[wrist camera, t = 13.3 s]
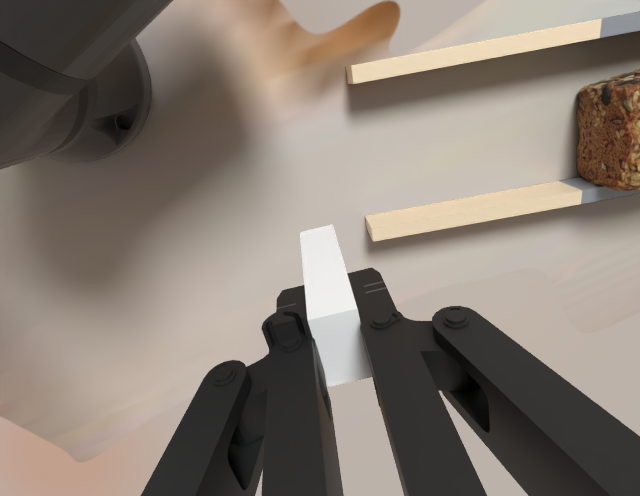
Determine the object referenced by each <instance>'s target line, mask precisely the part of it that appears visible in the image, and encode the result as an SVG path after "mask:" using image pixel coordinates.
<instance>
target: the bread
mask: <svg viewBox="0 0 640 496" xmlns="http://www.w3.org/2000/svg"><path fill="white" fill-rule="evenodd" d="M578 101H579V103H580V105H579V107H578V110H577V122H578V125H579V127H580V128H579V134H580V140H579V144H578V147H577V159H578V160H577V169H578V171H577V172H578V173H579V174H580V175H581V176H582V177H584V178H585V179H586V180H587V181H589V182H591V183H593V184H600V185H603V186H604V187H605V188H608V189H611V190H615V191H631V190H640V69H639V70H635V71H634V72H631V73H624V74H621V75H618V76H615V77H612V78H610V79H605V80H603V81H600V82H598V83H594V84H590V85H588V86H584V87H583V88H582V89H581V90H580V92H579V95H578Z"/></svg>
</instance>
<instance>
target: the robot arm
mask: <svg viewBox="0 0 640 496" xmlns="http://www.w3.org/2000/svg"><path fill="white" fill-rule="evenodd" d="M172 1H173V0H0V169H3V168H6V167H9V166H12V165H15V164H18V163H21V162H25V161H28V160H31V159H34V158H37V157H42V158H47V159H52V160H56V161H63V162H87V161H93V160H97V159H100V158H103V157H106V156H108V155H110V154H113V153H115V152H117V151H119V150H121V149H122V148H124V147H125V146H127V145H128V144H129V143H130V142H131V141H132V140H133V139H134V138H135V137H136V136H137V135H138V133H139V132H140V130H141V129H142V127H143V125H144V123H145V120H146V118H147V115H148V112H149V107H150V100H151V84H150V76H149V71H148V67H147V64H146V61H145V58H144V55H143V53H142V51H141V49H140V47H139V45H138V43H137V41H136V39H135V37H136V36H137V35H138V34H139V33H140V32H141V31H142V30H143V29H144V28H145V27H146V26H147V25H148V24H150V23H151V22H152V21H153V20H154V19H155V18H156V17H157V16H158V15H159V14H160V13H161V12H162V11H163V10H164V9H165V8H166V7H167V6H168V5H169V4H170V3H171V2H172ZM300 239H301V251H302V263H303V274H304V285H303V286H298V287H294V288H290V289H286V290H282V292H281V293H280V295H279V297H278V298H277V311H276V313H274V314H272V315H271V316H269V317H268V318H267V319H266V320H265V321H264V322H263V325H262V331H263V334H264V336H265V339H266V342H267V344H268V347H269V354H268V355H266V356H265V357H264V358H263V359H261V360H259V361H258V362H256V363H254V364H252V365H250V366H247V367H246V366H245V364H244V363H242V362H241V361H236V360H231V361H226V362H223V363H221V364H219V365H217V366H215V367H214V368H213V369H212V370H210V371H209V372H208V374H207V375H206V376H205V378H204V379H203V381H202V383H201V385H200V387H199V388H198V390H197V392H196V394H195V396H194V398H193V400H192V402H191V403H190V405H189V407H188V409H187V411H186V413H185V414H184V416H183V418H182V420H181V422H180V424H179V426H178V427H177V429H176V431H175V433H174V435H173V437H172V439H171V441H170V442H169V444H168V446H167V448H166V450H165V452H164V454H163V455H162V457H161V459H160V461H159V463H158V465H157V467H156V469H155V470H154V472H153V474H152V476H151V478H150V480H149V481H148V483H147V485H146V487H145V489H144V491H143V493H142V494H141V496H255V494H256V490H257V487H258V483H259V479H260V476H261V472H262V469H263V479H262V496H343V488H342V481H341V475H340V467H339V459H338V453H337V445H336V437H335V430H334V423H333V416H332V408H331V401H330V397H329V394H328V391H327V387H326V383H327V386H328V387H331V386H335V385H340V384H343V383H348V382H352V381H356V380H361V379H364V378H369V377H373V381H374V385H375V390H376V394H377V398H378V402H379V406H380V408H381V411H382V415H383V419H384V422H385V426H386V430H387V433H388V437H389V441H390V445H391V448H392V452H393V456H394V459H395V463H396V466H397V470H398V474H399V478H400V481H401V485H402V488H403V492H404V496H487V495H486V493H485V490H484V488H483V486H482V484H481V482H480V479H479V477H478V475H477V473H476V471H475V469H474V467H473V465H472V462H471V460H470V458H469V456H468V454H467V452H466V449H465V447H464V445H463V443H462V441H461V439H460V436H459V434H458V432H457V430H456V428H455V426H454V424H453V421H452V419H451V417H450V415H449V413H448V411H447V409H446V406H445V404H444V402H443V400H442V398H441V396H440V394H439V391H438V390H441V391H442V393H443V395H444V396H445V397H446V399H447V400H448V401H449V402H450V403H451V404H452V406H453V407H454V408H455V409H456V410H457V412H458V413H459V414H460V415H461V416H462V417H463V419H464V420H465V421H466V422H467V423H468V425H469V426H470V427H471V428H472V429H473V430H474V432H475V433H476V434H477V435H478V436H479V438H480V439H481V440H482V441H483V442H484V444H485V445H486V446H487V447H488V448H489V449H490V451H491V452H492V453H493V454H494V455H495V457H496V458H497V459H498V460H499V461H500V462H501V464H502V465H503V466H504V467H505V468H506V470H507V471H508V472H509V473H510V474H511V475H512V476H513V478H514V479H515V480H516V481H517V482H518V484H519V485H520V486H521V487H522V488H523V490H524V491H525V492H526V493H527V494H528V495H529V496H640V436H638V435H637V434H636V433H635V432H633V431H632V430H631V429H629V428H628V427H627V426H625V425H624V424H622V423H621V422H620V421H619V420H617V419H616V418H615V417H613V416H612V415H611V414H609V413H608V412H607V411H606V410H604V409H603V408H602V407H600V406H599V405H598V404H596V403H595V402H594V401H592V400H591V399H590V398H588V397H587V396H586V395H584V394H583V393H582V392H581V391H579V390H578V389H577V388H575V387H574V386H572V385H571V384H570V383H569V382H568V381H566V380H565V379H564V378H562V377H561V376H560V375H558V374H557V373H556V372H554V371H553V370H552V369H550V368H549V367H548V366H546V365H545V364H544V363H542V362H541V361H540V360H538V359H537V358H536V357H535V356H533V355H532V354H531V353H529V352H528V351H527V350H525V349H524V348H523V347H522V346H520V345H519V344H518V343H516V342H515V341H514V340H512V339H511V338H510V337H508V336H507V335H506V334H504V333H503V332H502V331H500V330H499V329H498V328H497V327H495V326H494V325H493V324H491V323H490V322H489V321H487V320H486V319H485V318H483V317H482V316H481V315H479V314H478V313H477V312H475V311H474V310H472V309H470V308H466V307H461V306H450V307H446V308H443V309H441V310H439V311H438V312H436V313H435V315H434V316H433V317H432V321H413V320H410V319H407V318H405V317H403V315H402V314H401V313H400V312H398V311H397V309H396V307H395V305H394V303H393V301H392V298H391V296H390V294H389V292H388V290H387V288H386V285H385V283H384V281H383V279H382V276H381V274H380V273H379V272H378V271H376V270H375V269H373V268H368V269H364V270H360V271H356V272H352V273H348V274H347V271H346V268H345V265H344V261H343V258H342V255H341V251H340V248H339V244H338V241H337V238H336V234H335V231H334V227H333V224H332V225H328V226H324V227H320V228H316V229H312V230H308V231H304V232H300Z"/></svg>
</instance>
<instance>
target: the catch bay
mask: <svg viewBox="0 0 640 496" xmlns="http://www.w3.org/2000/svg"><path fill="white" fill-rule="evenodd" d="M634 31H640V12H634V13H629V14H624V15H618V16H613V17H608V18H602V19H597V20H592V21H586V22H581V23H576V24H570V25H565V26H560V27H554V28H549V29H544V30H538V31H533V32H528V33H522V34H517V35H512V36H506V37H501V38H496V39H490V40H485V41H480V42H474V43H469V44H464V45H458V46H453V47H448V48H442V49H437V50H432V51H426V52H421V53H416V54H410V55H405V56H400V57H394V58H389V59H384V60H379V61H373V62H368V63H363V64H357V65H352V66H347V67H346V73H347V80H348V84H356V83H362V82H367V81H372V80H378V79H383V78H388V77H394V76H399V75H404V74H410V73H415V72H420V71H426V70H431V69H436V68H442V67H447V66H453V65H458V64H463V63H469V62H474V61H479V60H485V59H490V58H495V57H501V56H506V55H511V54H517V53H522V52H527V51H533V50H538V49H543V48H549V47H554V46H559V45H565V44H570V43H576V42H581V41H586V40H592V39H597V38H602V37H608V36H613V35H618V34H624V33H629V32H634ZM634 194H640V190H631V191H615V190H611V189H608V188H605V187H604V186H603V185H600V184H593V183H591V182H589V181H587V180H586V179H585V178H584V177H577V178H571V179H566V180H560V181H555V182H549V183H544V184H538V185H533V186H527V187H522V188H516V189H511V190H505V191H500V192H494V193H489V194H483V195H478V196H472V197H467V198H461V199H456V200H450V201H445V202H439V203H434V204H428V205H423V206H417V207H412V208H406V209H401V210H395V211H390V212H384V213H379V214H373V215H368V216H365V219H366V227H367V230H368V232H369V234H370V236H371V238H372V240H373V242H374V241H380V240H385V239H391V238H396V237H402V236H407V235H413V234H418V233H424V232H430V231H435V230H441V229H446V228H452V227H457V226H463V225H468V224H474V223H479V222H485V221H490V220H496V219H501V218H507V217H513V216H518V215H524V214H529V213H535V212H540V211H546V210H551V209H557V208H562V207H568V206H573V205H579V204H584V203H590V202H596V201H601V200H607V199H612V198H618V197H623V196H629V195H634Z"/></svg>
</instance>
